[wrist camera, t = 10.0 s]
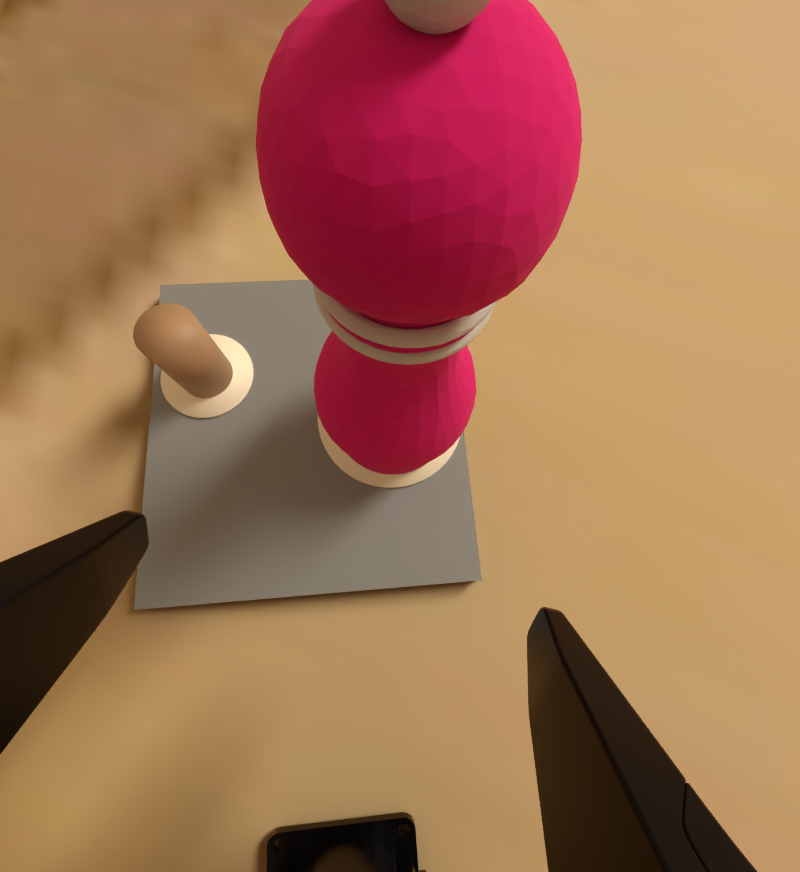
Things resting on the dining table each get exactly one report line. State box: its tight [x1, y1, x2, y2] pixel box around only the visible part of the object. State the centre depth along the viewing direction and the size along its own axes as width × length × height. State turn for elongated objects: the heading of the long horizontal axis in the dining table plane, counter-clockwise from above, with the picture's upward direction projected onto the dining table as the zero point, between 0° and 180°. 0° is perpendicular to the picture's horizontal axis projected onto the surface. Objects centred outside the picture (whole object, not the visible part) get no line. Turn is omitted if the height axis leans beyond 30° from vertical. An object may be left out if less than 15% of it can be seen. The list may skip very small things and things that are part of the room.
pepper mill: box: [256, 0, 582, 475], centre depth 14 cm, size 7×7×20 cm
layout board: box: [133, 280, 482, 610], centre depth 22 cm, size 17×18×6 cm
